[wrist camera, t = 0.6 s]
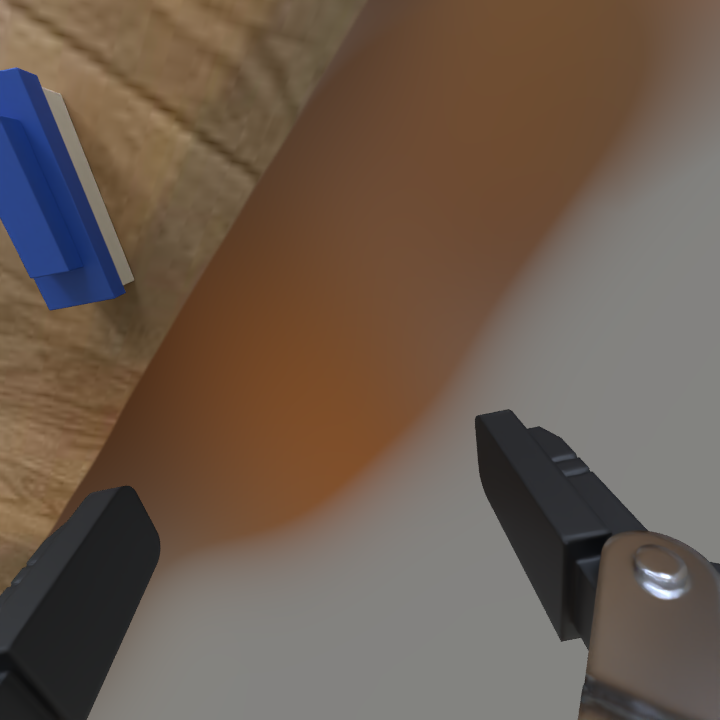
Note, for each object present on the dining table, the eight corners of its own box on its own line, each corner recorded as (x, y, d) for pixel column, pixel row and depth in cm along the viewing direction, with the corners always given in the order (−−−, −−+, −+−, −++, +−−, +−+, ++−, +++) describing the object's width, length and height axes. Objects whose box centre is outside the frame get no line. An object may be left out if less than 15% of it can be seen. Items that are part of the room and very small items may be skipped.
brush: (-10, 97, 27) (-95, 73, 22) (60, 84, 27) (-7, 57, 22) (82, 296, 33) (32, 318, 27) (139, 285, 33) (102, 305, 27)
